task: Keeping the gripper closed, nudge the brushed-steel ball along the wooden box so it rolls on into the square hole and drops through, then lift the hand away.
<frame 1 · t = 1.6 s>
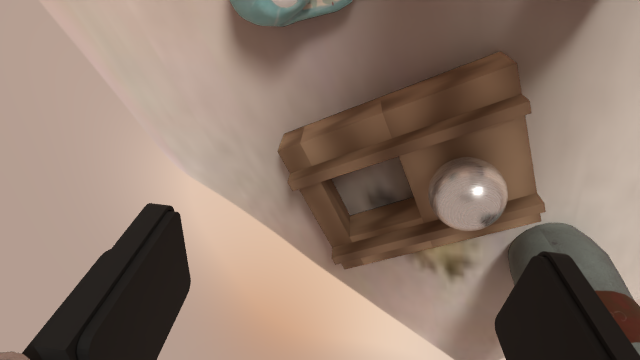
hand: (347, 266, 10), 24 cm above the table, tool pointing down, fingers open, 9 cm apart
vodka: (544, 248, 40), on the table
steel ball: (466, 193, 29), point 6 cm above the table, touching wooden box
wooden box: (408, 167, 36), on the table
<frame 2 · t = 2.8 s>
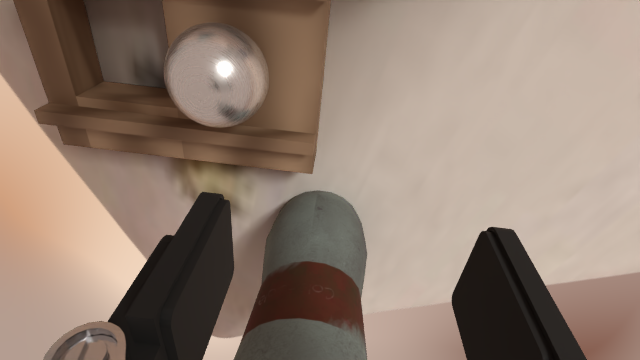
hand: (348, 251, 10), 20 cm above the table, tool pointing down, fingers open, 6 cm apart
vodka: (319, 222, 36), on the table
steel ball: (218, 77, 21), point 6 cm above the table, touching wooden box
wooden box: (192, 44, 27), on the table
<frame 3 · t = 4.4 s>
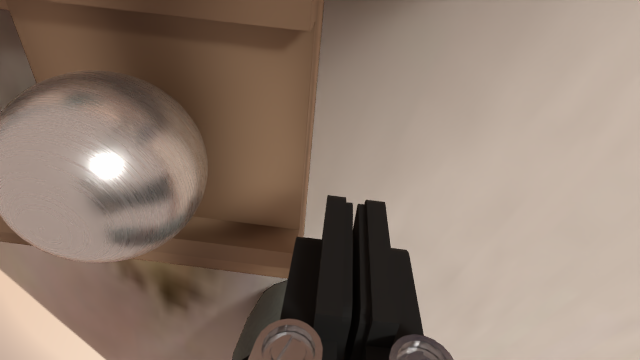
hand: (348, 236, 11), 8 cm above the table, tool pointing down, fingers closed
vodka: (310, 312, 26), on the table
steel ball: (110, 167, 12), point 6 cm above the table, touching wooden box
wooden box: (105, 83, 17), on the table
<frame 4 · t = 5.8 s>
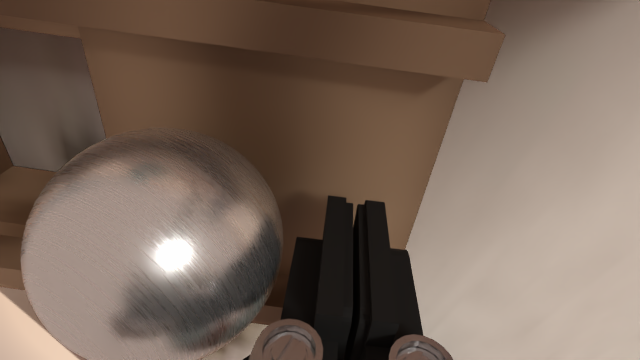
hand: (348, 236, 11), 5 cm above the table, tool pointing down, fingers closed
steel ball: (168, 242, 9), point 6 cm above the table, tilted 21°, touching gripper, wooden box
wooden box: (165, 115, 15), on the table
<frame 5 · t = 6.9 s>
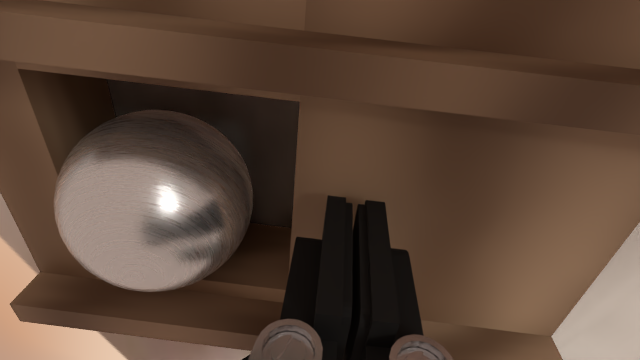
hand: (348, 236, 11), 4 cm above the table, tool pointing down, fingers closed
steel ball: (163, 199, 12), point 3 cm above the table, tilted 168°
wooden box: (311, 159, 14), on the table
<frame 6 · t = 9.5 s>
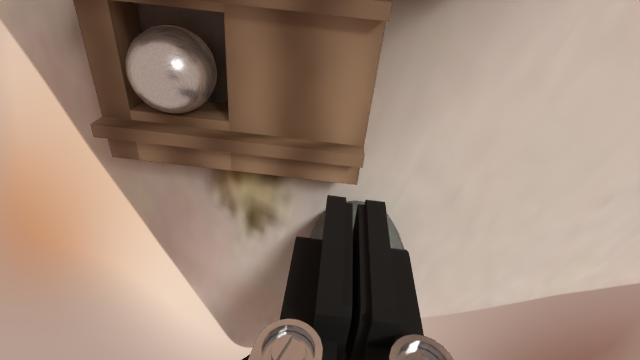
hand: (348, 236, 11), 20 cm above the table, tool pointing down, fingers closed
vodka: (354, 231, 36), on the table
steel ball: (173, 70, 25), point 3 cm above the table, tilted 161°
wooden box: (242, 59, 28), on the table
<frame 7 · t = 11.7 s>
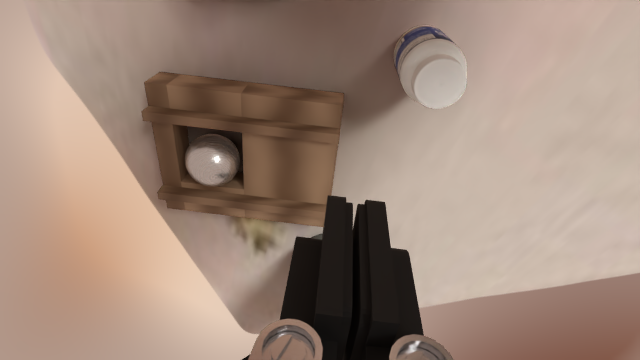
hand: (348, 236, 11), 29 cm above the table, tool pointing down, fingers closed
pill bottle: (420, 52, 36), on the table
steel ball: (213, 160, 41), point 3 cm above the table, tilted 154°
wooden box: (252, 147, 43), on the table
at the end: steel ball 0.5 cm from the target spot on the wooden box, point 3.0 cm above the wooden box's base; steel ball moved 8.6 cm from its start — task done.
